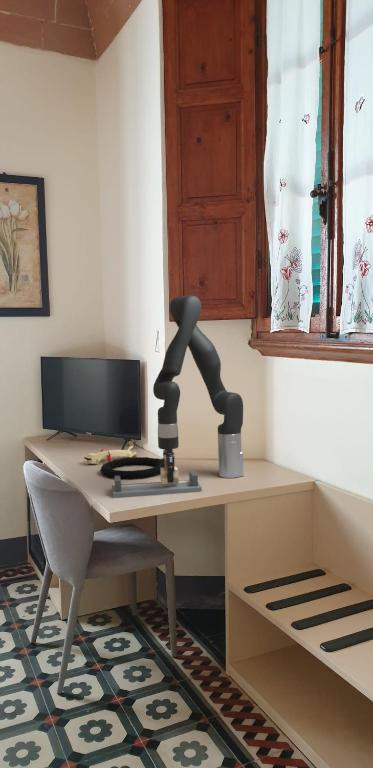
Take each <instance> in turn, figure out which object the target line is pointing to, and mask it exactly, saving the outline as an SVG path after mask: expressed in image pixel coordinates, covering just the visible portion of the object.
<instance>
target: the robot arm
mask: <svg viewBox="0 0 373 768" xmlns="http://www.w3.org/2000/svg"><path fill="white" fill-rule="evenodd" d="M169 312H170V315H171V317H172V319H173V321H174V323H175V324H176V326H177V331H176V333H175V335H174V336H173V338H172V339H171V341H170V343H169V345H168V347H167V349H166V350H165V355H164V359H163V362H162V363H163V364H162V368H161V369H160V371H159V373H158V375H157V377H156V379H155V381H154V383H153V387H152V388H153V389H152V390H153V396H154V397H155V398H156V399H158V400H162V401H163V406H161V407H159V408H158V409H157V444H158V445H157V447H158V449H160V450H163V451H162V456H163V458H164V466H165V467H167V481H168V483H172V482H174V477H173V472H174V471H175V469H174V467H175V452H174V451H173V450H174V449H178V448H179V443H180V442H179V426H178V413H177V412H178V409H179V403H180V399H181V389H180V388H181V387H180V386H179V384H178V383H177V382H175V381H173V380H174V378H176V377H178V376H179V375H181V372H182V369H183V365H184V364H183V363H184V360H185V356H186V352H187V349H189V351H190V354H191V356H192V358H193V361H194V363H195V365H196V368H197V369H198V371H199V373H200V375H201V378H202V380H203V382H204V384H205V388H206V390H207V393H208V396H209V398H210V402H211V405H212V407H213V410H214V411H215V412H216V413H217V414H220V415H222V416H223V422H222V423H221V424H218V426H217V450H218V451H217V452H218V453H217V454H218V456H217V457H218V476H219V477H221V478H224V479H225V478H226V479H234V478H239V477H244V452H243V451H242V426H243V424H244V402H243V401H244V400H243V398H242V396H241V395H240V394H239V393H236V392H232V391H228V390H227V389H226V388H225V385H224V383H223V381H222V378H221V370H222V369H221V368H222V365H221V364H222V362H221V358H220V356H219V353H218V351H217V349H216V347H215V345H214V343H213V342H212V340H210V338H208V336H207V335H206V334H204V333H203V331H201V329H200V328H199V326H198V325H197V323H198V321H199V318H200V316H201V312H202V303H201V301H200V299H199V297H197V296H195V295H189V294H188V295H183V296H182V295H180V296H176V297H174V298H172V300H171V301H170V303H169ZM169 466H172V468H171V469H169Z"/></svg>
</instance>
